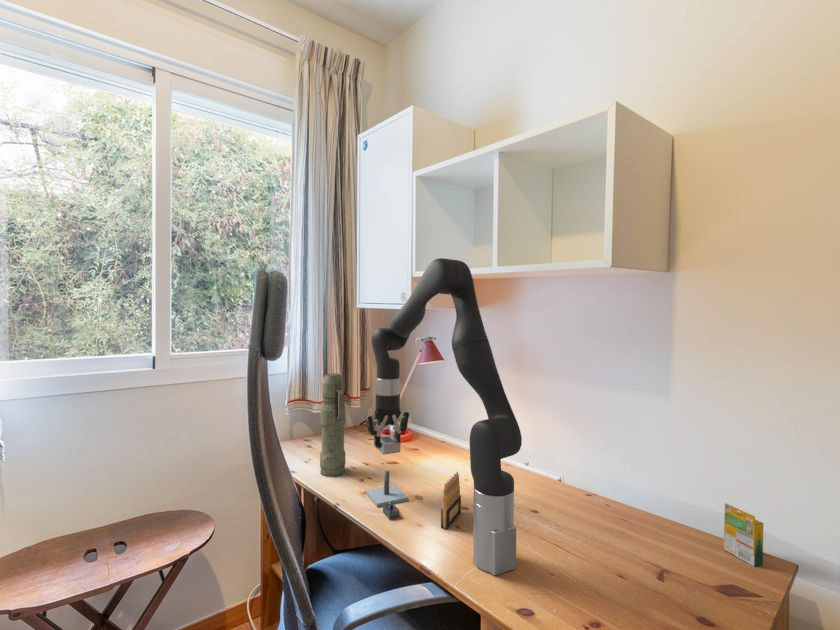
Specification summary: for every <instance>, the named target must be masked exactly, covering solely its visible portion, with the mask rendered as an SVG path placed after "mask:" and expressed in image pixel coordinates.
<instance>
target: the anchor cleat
mask: <svg viewBox="0 0 840 630" xmlns="http://www.w3.org/2000/svg"><path fill="white" fill-rule="evenodd" d="M382 514H384V515H385V516H386V517H387V518H388V520H394V519H398V518H400V509H399V508H398V507H397V506H396V505H395V503H394V504H393V501H389V504H385V505H383V506H382Z"/></svg>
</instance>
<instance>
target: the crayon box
mask: <svg viewBox="0 0 840 630" xmlns="http://www.w3.org/2000/svg"><path fill="white" fill-rule="evenodd" d="M723 523H724V525H723V526H724V528H723V550H724V551H726V552H728V553H729V554H731V555H732V556H735V557H737V558H738V559H740V560H742V561H744V562H745V563H747V564H749V565H750V566H752V567H757V566H762V565H763V564H764V562H763V559H764V557H763V556H764V523H763V522H762V521H761V520H760V521H759V520H757V519H756V516H755V515H753V514H750V513H748V512H747V511H743V510H742V509H739V508H737V507H735V506H733V505H730V504H728V503H726V502H725V503H724V522H723Z"/></svg>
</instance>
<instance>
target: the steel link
mask: <svg viewBox="0 0 840 630" xmlns="http://www.w3.org/2000/svg"><path fill="white" fill-rule="evenodd" d="M380 437H381V438H380V448H377V447H376V446H375V445H374V448H376V449H377V451H379V452H380V453H381V454H382V455H384V456H385V455H391V454H397V453H401V441H400V442H399V441H398V440H396V439H395V438H394V435H393V436H392V435H391V434H386V435H380Z"/></svg>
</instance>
